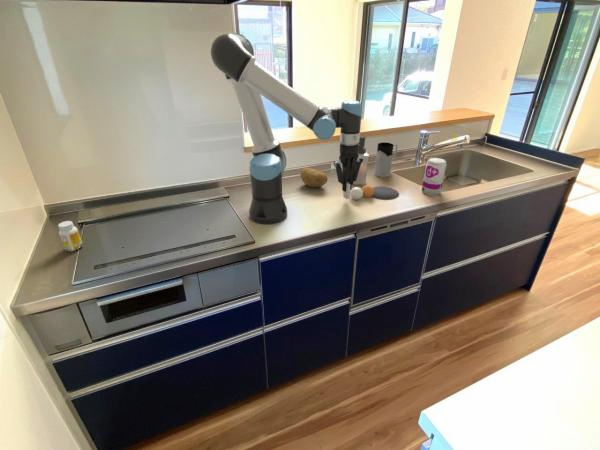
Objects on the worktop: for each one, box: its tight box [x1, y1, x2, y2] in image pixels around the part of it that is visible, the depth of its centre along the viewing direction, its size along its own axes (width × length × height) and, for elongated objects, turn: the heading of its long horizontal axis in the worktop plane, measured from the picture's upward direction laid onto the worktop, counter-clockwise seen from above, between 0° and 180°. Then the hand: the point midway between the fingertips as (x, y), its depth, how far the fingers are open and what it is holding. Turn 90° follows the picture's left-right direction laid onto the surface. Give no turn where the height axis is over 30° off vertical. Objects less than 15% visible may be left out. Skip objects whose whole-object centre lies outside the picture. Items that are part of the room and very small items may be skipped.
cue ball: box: [350, 186, 364, 201], centre depth 148 cm, size 6×6×6 cm
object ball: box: [361, 184, 374, 198], centre depth 151 cm, size 6×6×6 cm
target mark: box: [370, 185, 400, 201], centre depth 155 cm, size 14×14×1 cm
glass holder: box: [373, 142, 398, 178], centre depth 174 cm, size 9×14×15 cm, turn 130°
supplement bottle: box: [57, 220, 83, 251], centre depth 115 cm, size 5×5×10 cm
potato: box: [300, 167, 328, 188], centre depth 160 cm, size 10×14×8 cm
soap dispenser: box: [352, 135, 369, 186], centre depth 162 cm, size 6×9×22 cm
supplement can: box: [421, 157, 447, 196], centre depth 152 cm, size 8×8×15 cm
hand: (346, 197), depth 146 cm, fingers closed
